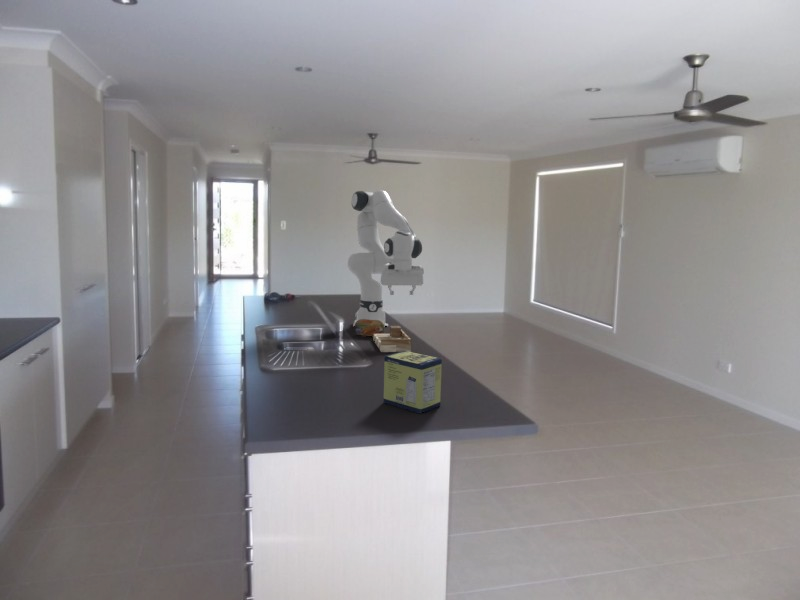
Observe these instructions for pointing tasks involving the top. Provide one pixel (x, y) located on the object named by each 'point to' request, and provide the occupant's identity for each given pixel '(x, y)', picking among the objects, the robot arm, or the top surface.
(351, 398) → the top surface
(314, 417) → the top surface
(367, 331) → the tin
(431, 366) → the protein box
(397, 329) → the walnut block
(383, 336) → the board
